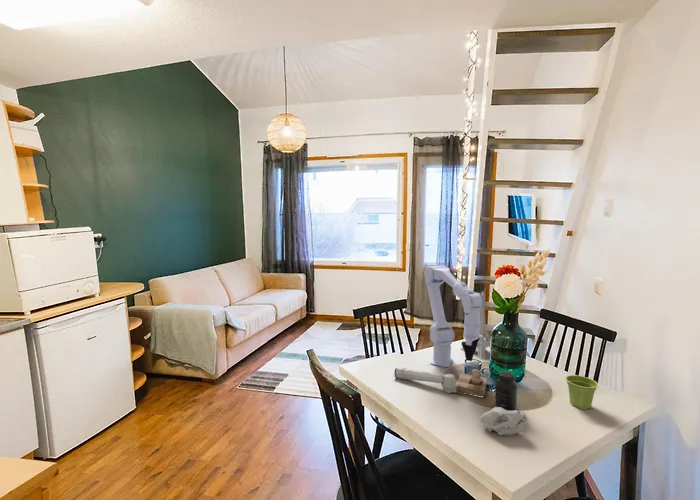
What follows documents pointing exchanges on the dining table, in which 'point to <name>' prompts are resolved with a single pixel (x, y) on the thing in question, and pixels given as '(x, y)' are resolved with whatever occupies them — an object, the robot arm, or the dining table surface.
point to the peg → (475, 377)
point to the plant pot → (581, 390)
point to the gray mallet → (429, 378)
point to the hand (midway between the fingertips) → (470, 356)
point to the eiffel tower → (482, 341)
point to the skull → (503, 420)
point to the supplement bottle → (506, 391)
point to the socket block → (467, 386)
